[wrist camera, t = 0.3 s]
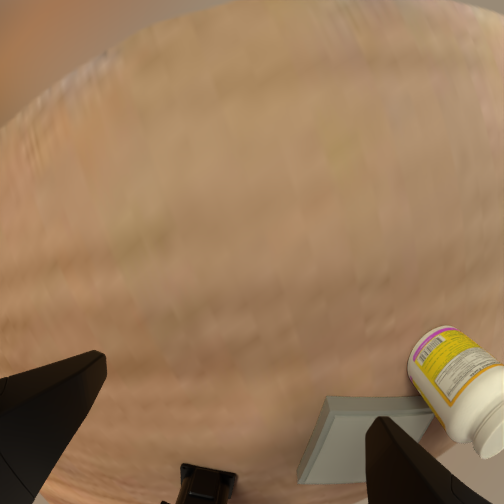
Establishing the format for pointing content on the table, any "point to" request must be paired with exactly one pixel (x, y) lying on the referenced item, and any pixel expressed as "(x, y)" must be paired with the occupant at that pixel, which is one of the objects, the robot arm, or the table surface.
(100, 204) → the table surface
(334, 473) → the slate base
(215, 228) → the table surface
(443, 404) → the supplement bottle
